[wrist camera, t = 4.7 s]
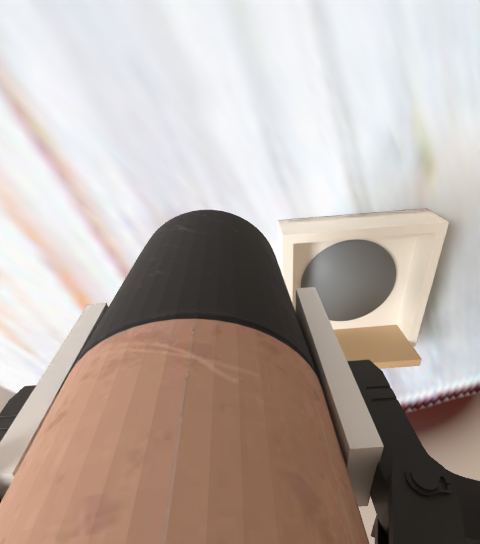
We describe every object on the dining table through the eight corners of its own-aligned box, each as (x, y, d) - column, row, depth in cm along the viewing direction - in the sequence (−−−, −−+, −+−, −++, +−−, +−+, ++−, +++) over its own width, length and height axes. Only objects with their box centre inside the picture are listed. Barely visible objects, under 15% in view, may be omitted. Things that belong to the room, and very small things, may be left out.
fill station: (277, 220, 34) (288, 248, 28) (426, 208, 34) (469, 234, 28) (278, 334, 42) (287, 375, 36) (399, 325, 42) (428, 364, 36)
